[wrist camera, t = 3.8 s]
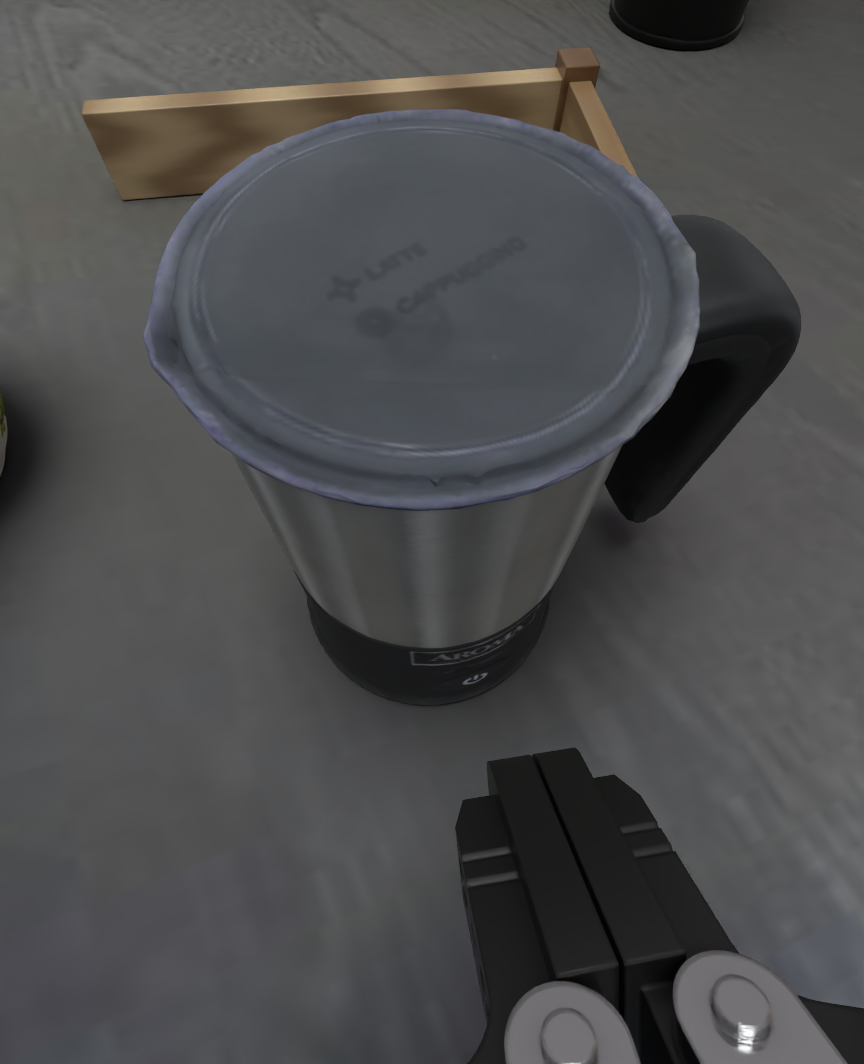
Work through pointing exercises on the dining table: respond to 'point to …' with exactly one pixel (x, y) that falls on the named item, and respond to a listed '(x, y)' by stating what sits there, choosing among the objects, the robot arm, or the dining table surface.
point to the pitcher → (2, 433)
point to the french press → (680, 21)
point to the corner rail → (326, 119)
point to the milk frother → (454, 370)
